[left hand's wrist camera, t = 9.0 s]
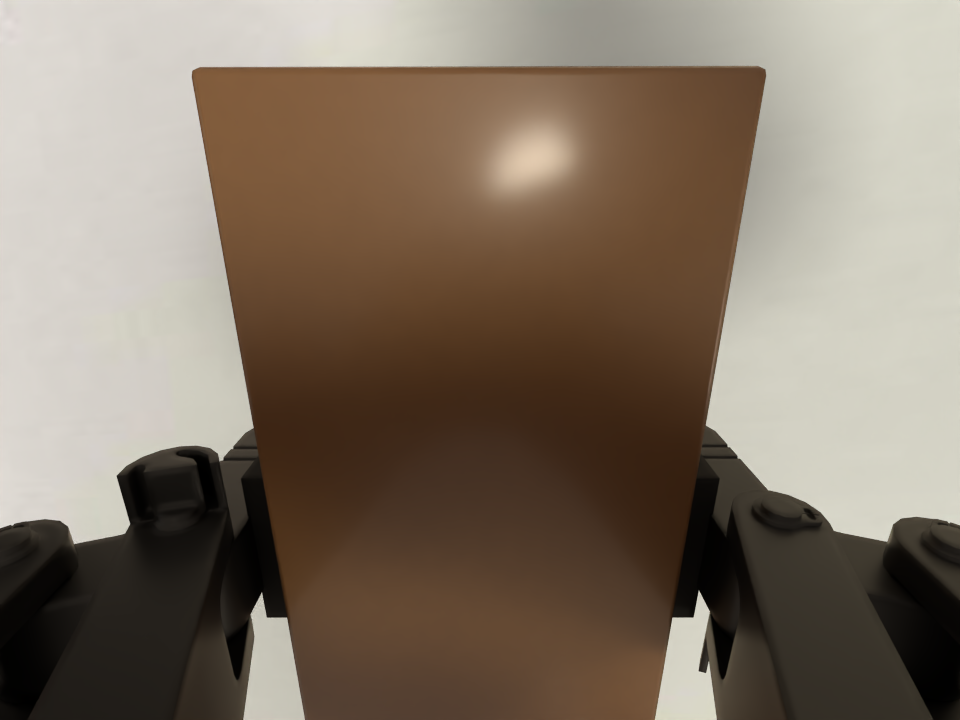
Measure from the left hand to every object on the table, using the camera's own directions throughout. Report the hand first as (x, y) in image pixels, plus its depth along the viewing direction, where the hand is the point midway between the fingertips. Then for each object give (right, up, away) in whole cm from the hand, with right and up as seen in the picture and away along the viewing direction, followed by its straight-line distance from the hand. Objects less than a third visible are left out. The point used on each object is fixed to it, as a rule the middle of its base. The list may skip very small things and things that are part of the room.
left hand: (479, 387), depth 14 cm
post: (0, -21, +9) cm, 22 cm away
